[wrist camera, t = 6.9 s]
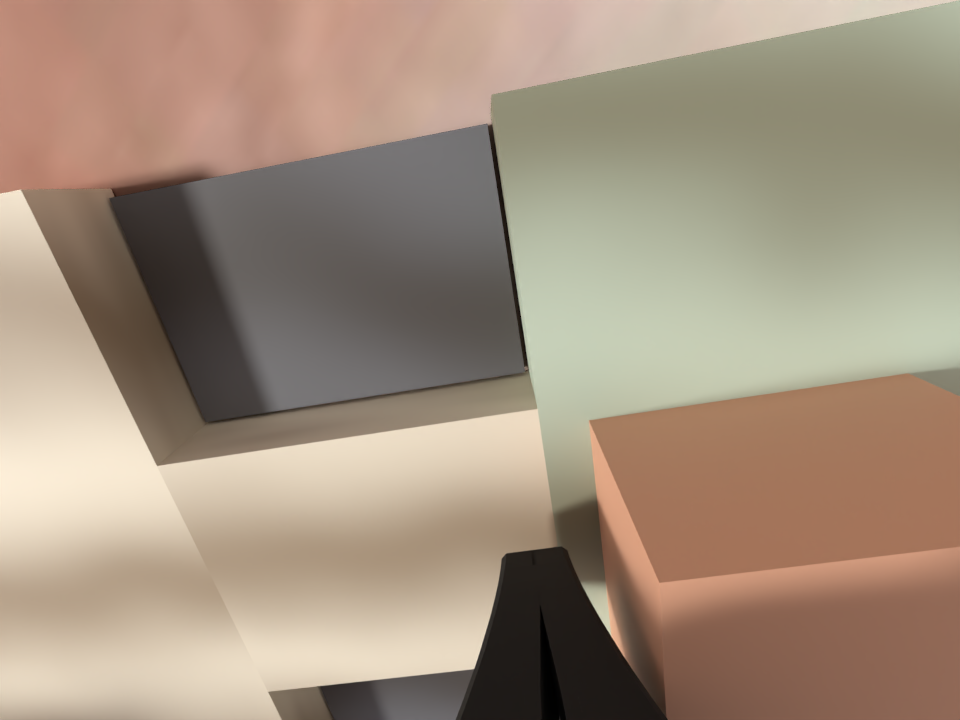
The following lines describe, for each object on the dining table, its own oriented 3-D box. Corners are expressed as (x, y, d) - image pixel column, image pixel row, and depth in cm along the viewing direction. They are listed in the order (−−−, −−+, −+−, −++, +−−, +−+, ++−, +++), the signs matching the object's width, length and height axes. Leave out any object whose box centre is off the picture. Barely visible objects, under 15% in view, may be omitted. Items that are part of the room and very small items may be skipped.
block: (870, 607, 11) (1072, 831, 7) (611, 637, 11) (673, 863, 8) (908, 373, 9) (1225, 515, 5) (588, 420, 9) (659, 583, 5)
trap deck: (832, 691, 15) (882, 764, 13) (129, 762, 16) (84, 835, 15) (922, 28, 8) (1046, -18, 7) (-225, 255, 10) (-385, 271, 8)
